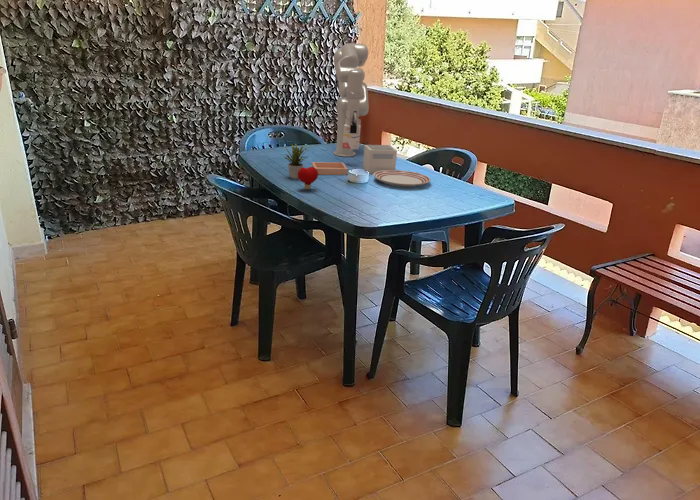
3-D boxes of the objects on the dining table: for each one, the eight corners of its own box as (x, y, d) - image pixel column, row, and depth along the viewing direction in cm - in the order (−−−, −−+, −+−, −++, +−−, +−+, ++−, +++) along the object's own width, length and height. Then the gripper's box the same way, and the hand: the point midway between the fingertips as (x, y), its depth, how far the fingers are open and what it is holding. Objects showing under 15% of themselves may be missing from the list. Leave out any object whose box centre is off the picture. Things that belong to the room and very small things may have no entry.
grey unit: (362, 167, 279) (364, 143, 275) (388, 167, 282) (390, 144, 278) (368, 173, 268) (369, 149, 263) (395, 174, 271) (397, 149, 266)
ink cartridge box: (342, 148, 277) (343, 119, 271) (343, 146, 282) (344, 117, 275) (358, 149, 277) (360, 121, 270) (359, 147, 281) (361, 119, 275)
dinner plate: (385, 172, 274) (386, 165, 273) (437, 181, 264) (438, 174, 262) (363, 184, 251) (363, 177, 250) (418, 194, 241) (419, 187, 239)
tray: (311, 168, 272) (311, 162, 271) (342, 168, 275) (342, 162, 274) (315, 174, 261) (315, 168, 259) (347, 174, 264) (347, 168, 263)
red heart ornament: (300, 192, 231) (301, 170, 227) (294, 188, 237) (295, 166, 233) (320, 191, 235) (321, 168, 232) (313, 186, 241) (314, 164, 237)
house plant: (318, 178, 254) (320, 144, 248) (297, 183, 245) (297, 147, 238) (298, 172, 263) (299, 139, 257) (276, 176, 253) (277, 142, 247)
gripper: (343, 92, 275) (341, 127, 282) (350, 98, 260) (347, 135, 267) (357, 93, 276) (355, 127, 284) (365, 98, 261) (362, 135, 269)
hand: (351, 131), depth 275 cm, fingers closed on ink cartridge box, 6 cm apart
